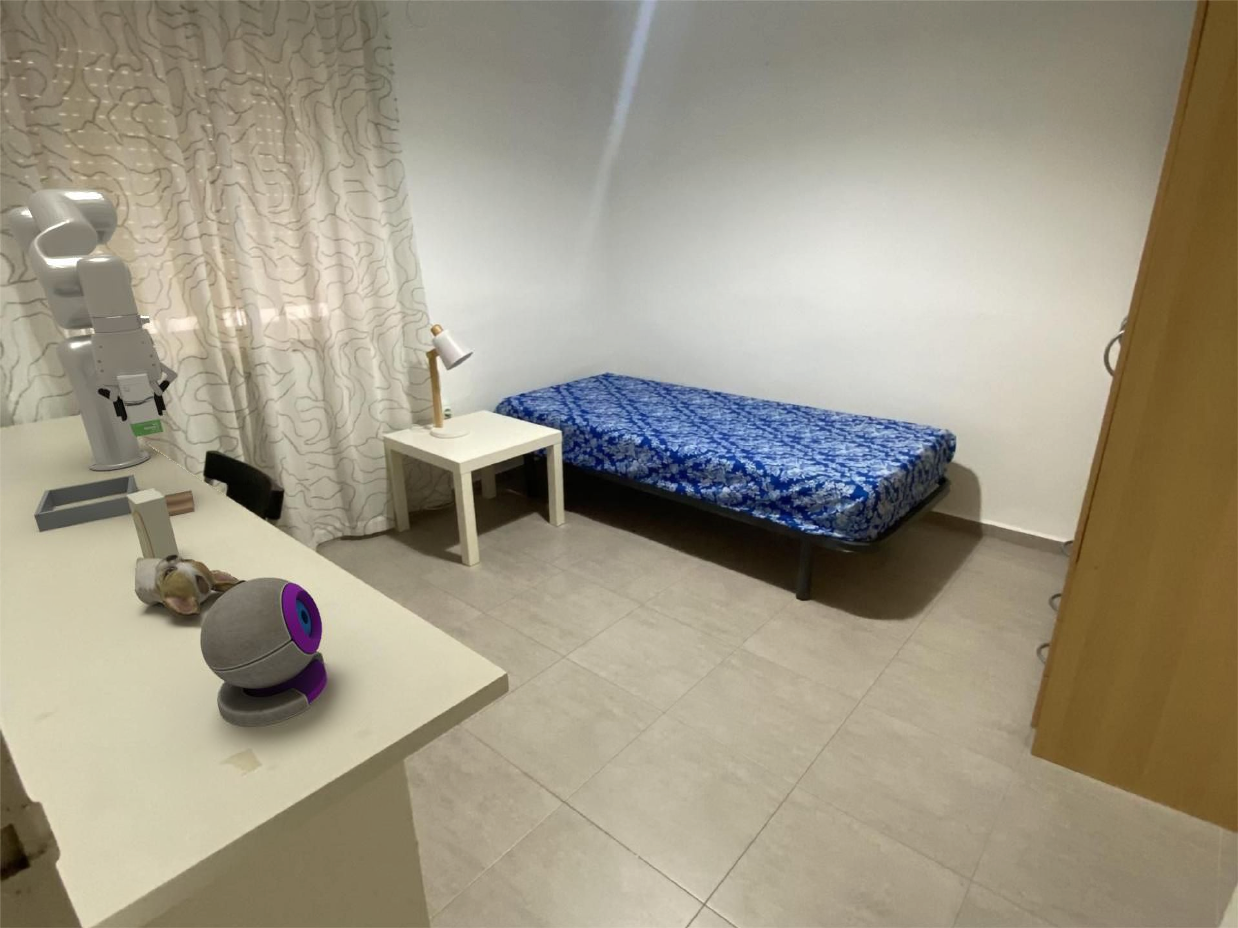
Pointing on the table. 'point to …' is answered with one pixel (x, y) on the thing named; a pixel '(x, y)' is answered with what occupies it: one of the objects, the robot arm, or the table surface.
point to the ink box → (139, 404)
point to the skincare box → (153, 524)
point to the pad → (179, 503)
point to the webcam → (264, 651)
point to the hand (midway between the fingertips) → (142, 416)
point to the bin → (86, 512)
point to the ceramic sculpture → (179, 583)
